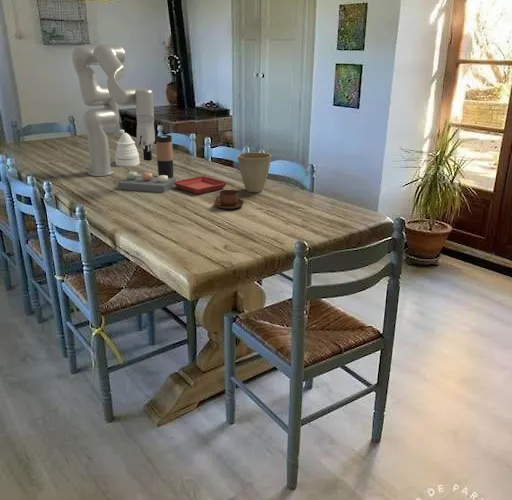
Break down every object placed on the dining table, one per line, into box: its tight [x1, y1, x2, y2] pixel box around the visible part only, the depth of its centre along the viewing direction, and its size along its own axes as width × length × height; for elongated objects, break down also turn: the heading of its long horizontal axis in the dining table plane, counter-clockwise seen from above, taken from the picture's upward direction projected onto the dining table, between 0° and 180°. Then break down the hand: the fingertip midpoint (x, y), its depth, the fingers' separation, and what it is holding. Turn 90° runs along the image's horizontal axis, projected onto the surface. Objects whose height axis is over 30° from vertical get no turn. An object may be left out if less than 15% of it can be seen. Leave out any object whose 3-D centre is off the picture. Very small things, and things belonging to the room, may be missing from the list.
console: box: [118, 175, 177, 193], centre depth 238 cm, size 22×14×3 cm, turn 77°
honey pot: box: [114, 129, 141, 167], centre depth 281 cm, size 13×13×18 cm
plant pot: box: [237, 151, 272, 193], centre depth 231 cm, size 15×15×16 cm
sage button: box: [126, 171, 138, 179], centre depth 238 cm, size 5×5×2 cm
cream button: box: [157, 175, 168, 182], centre depth 235 cm, size 5×5×2 cm
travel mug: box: [155, 134, 174, 178], centre depth 253 cm, size 8×8×20 cm
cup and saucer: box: [213, 189, 244, 210], centre depth 210 cm, size 12×12×6 cm
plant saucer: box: [173, 175, 228, 195], centre depth 237 cm, size 18×18×3 cm
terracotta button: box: [141, 172, 154, 180], centre depth 236 cm, size 5×5×2 cm
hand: (147, 160), depth 234 cm, fingers closed
